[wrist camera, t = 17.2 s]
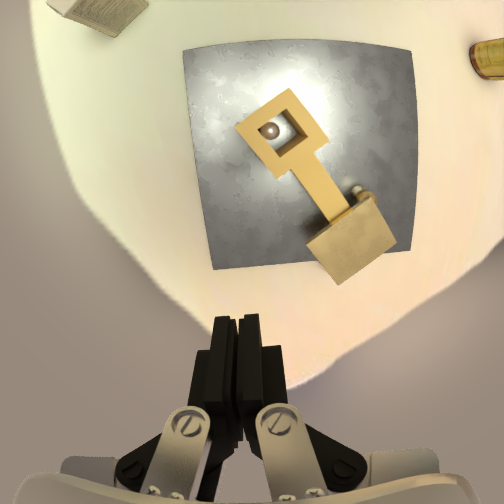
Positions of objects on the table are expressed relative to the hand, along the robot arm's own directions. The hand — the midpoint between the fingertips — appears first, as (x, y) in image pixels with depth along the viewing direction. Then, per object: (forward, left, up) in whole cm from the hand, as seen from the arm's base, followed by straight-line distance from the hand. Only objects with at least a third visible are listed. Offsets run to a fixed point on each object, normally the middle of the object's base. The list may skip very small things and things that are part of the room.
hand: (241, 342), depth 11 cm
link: (-2, +7, -25) cm, 26 cm away
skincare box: (-26, -13, -25) cm, 39 cm away
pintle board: (-3, +9, -25) cm, 27 cm away
